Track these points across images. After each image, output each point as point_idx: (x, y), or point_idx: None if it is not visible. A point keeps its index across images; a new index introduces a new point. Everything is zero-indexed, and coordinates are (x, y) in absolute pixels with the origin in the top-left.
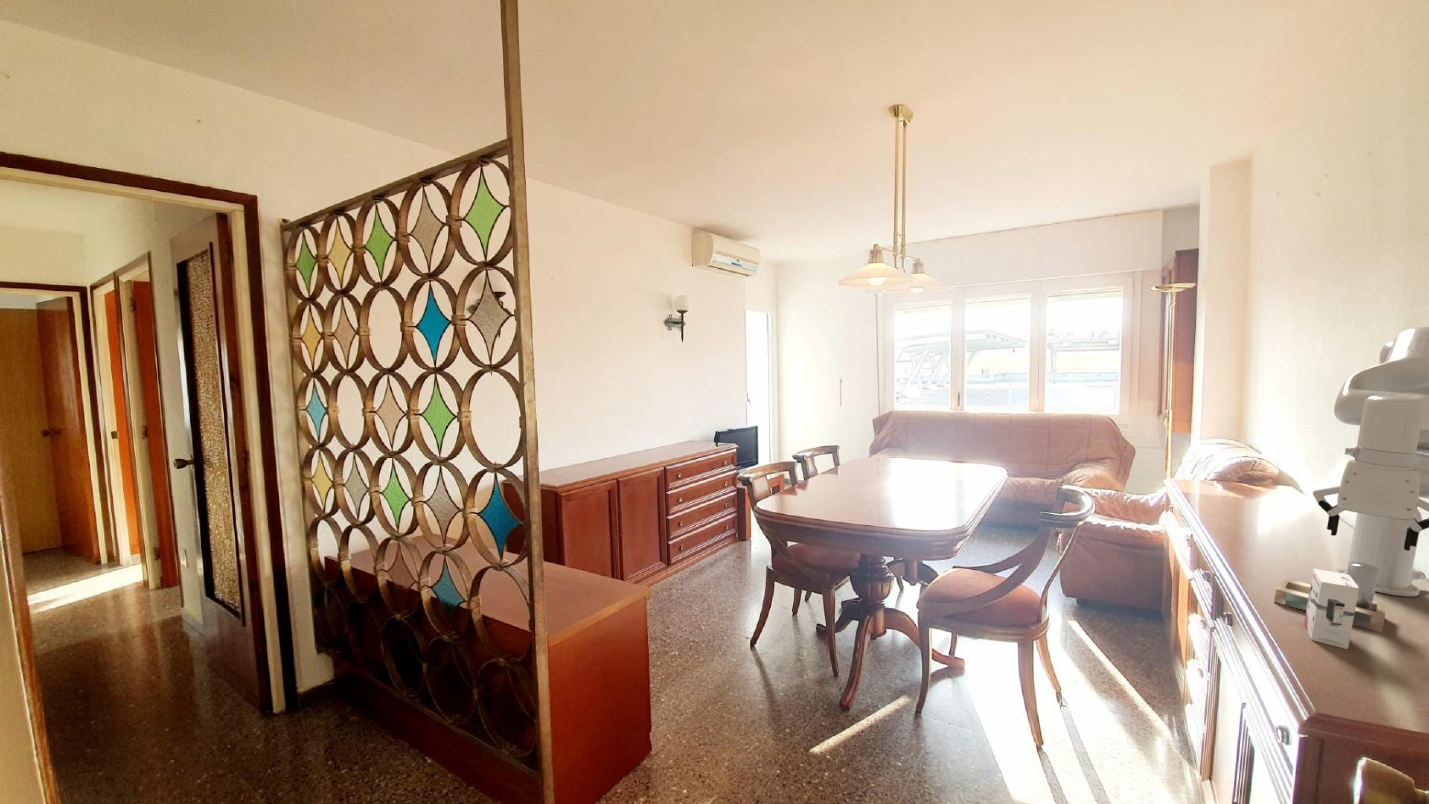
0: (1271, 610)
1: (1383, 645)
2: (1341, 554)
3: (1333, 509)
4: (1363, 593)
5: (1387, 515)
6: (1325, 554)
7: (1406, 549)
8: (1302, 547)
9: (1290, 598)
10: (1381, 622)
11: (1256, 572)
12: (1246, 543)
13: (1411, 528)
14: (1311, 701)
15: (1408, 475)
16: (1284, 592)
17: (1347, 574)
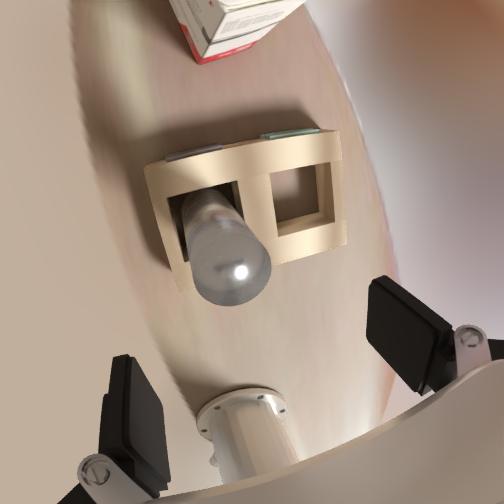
0: (309, 69)
1: (125, 81)
2: None
3: (485, 355)
4: (200, 211)
5: (252, 499)
6: (306, 447)
7: (123, 355)
8: (328, 442)
9: (306, 129)
10: (148, 166)
11: None
12: (379, 397)
13: (115, 465)
14: None
15: None
16: (323, 133)
17: (225, 1)
